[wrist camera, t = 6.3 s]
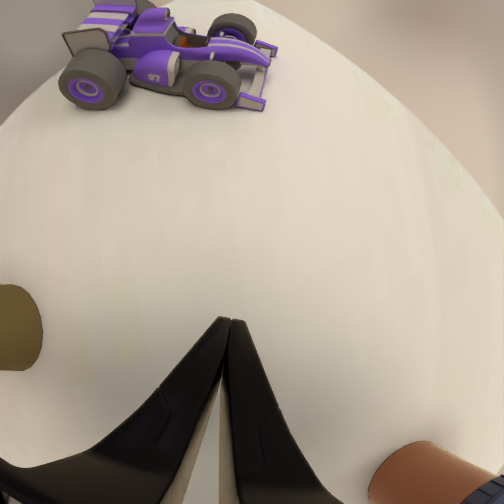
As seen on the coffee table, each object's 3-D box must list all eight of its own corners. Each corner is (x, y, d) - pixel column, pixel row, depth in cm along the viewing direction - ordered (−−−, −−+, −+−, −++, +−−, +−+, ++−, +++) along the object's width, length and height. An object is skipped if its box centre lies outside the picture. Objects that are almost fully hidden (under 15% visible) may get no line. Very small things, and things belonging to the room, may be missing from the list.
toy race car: (260, 128, 19) (272, 60, 13) (72, 111, 19) (38, 58, 13) (278, 46, 21) (290, -14, 15) (119, 35, 21) (103, -15, 15)
